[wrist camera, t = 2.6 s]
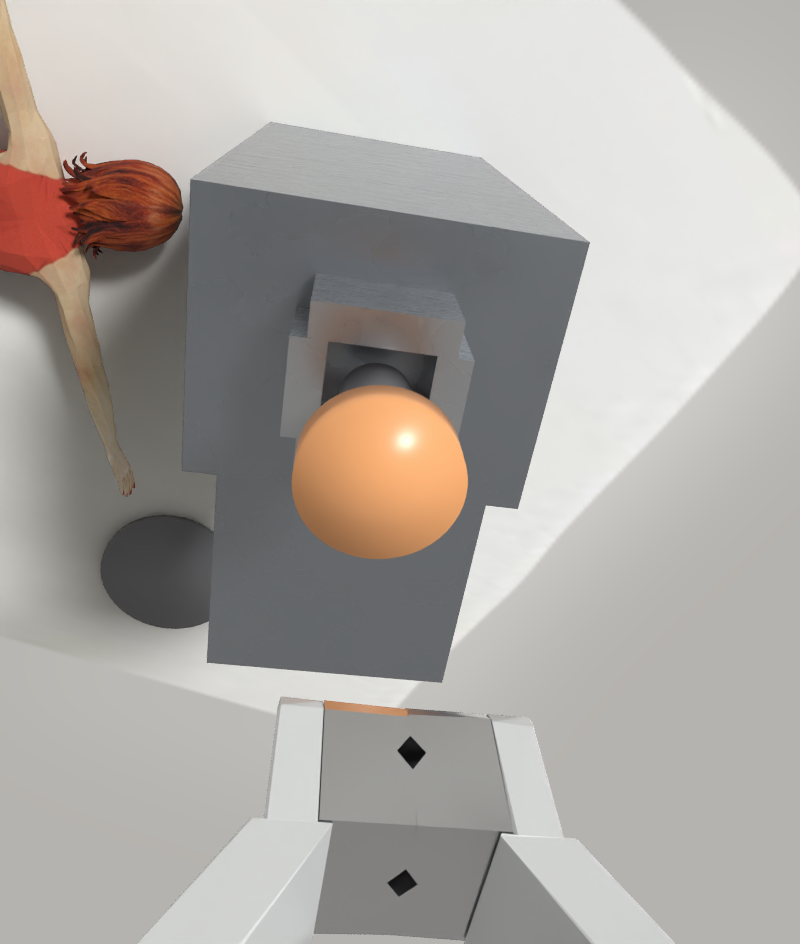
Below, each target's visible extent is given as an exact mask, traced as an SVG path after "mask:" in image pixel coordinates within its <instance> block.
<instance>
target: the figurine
mask: <svg viewBox="0 0 800 944" xmlns="http://www.w3.org/2000/svg"><path fill="white" fill-rule="evenodd" d="M0 109H1V112H2V115H3V118H4V121H5V123H6V126H7V129H8V132H9V136H8V148H7V151H5V150H1V151H0V269H1V270H4V271H8V272H15V273H21V274H25V275H30V276H34V277H39V278H40V279H41V280H42V281H43V282H45V283H46V284H47V285H48V286H49V287H50V288H51V289H52V290H53V291H54V294H55V298H56V302H57V306H58V310H59V314H60V319H61V323H62V327H63V330H64V334H65V337H66V341H67V344H68V347H69V350H70V353H71V356H72V359H73V362H74V365H75V367H76V370H77V373H78V376H79V379H80V383H81V386H82V388H83V391H84V394H85V397H86V400H87V403H88V406H89V410H90V413H91V416H92V418H93V420H94V423H95V425H96V427H97V430H98V432H99V434H100V437H101V439H102V441H103V444H104V446H105V450H106V453H107V458H108V460H109V463H110V465H111V467H112V469H113V472H114V474H115V476H116V478H117V479H118V482H119V485H120V492H121V495H125V497H127V496H128V494H129V495H131V492H132V488H135V482H134V478H133V472H132V470H131V467H130V465H129V463H128V461H127V459H126V458H125V456H124V454H123V452H122V450H121V449H120V447H119V444H118V442H117V439H116V433H115V425H114V417H113V408H112V402H111V397H110V392H109V385H108V382H107V378H106V375H105V371H104V368H103V364H102V358H101V352H100V346H99V342H98V338H97V335H96V331H95V326H94V321H93V317H92V313H91V309H90V305H89V293H90V278H91V276H90V269H89V266H88V264H87V261H86V258H85V255H84V251H83V247H82V245H86V244H89V243H90V245H88V247H87V248H86V251H85V252H87V250H88V248H89V247H92V248H95V249H94V251H93V256H94V257H95V259H97V258H96V254H97V255H99V254H98V252H97V251H99V252H101V253H103V252H102V251H101V250H100V249H99V248H100V247H105V248H110V249H113V250H116V251H129V252H136V251H144V250H147V249H150V248H152V247H154V246H157V245H160V244H163V243H164V242H165V241H167V240H168V239H170V238H171V237H172V235H173V234H174V233H175V232H176V230H177V229H178V227H179V224H180V222H181V220H182V210H183V204H182V199H181V191H180V189H179V187H178V185H177V183H176V181H175V180H174V178H173V177H172V176H171V175H170V174H169V173H167V172H166V171H165V170H163V169H162V168H161V167H158V166H156V165H154V164H151V163H149V162H145V161H140V160H121V161H109V162H104V163H99V164H88V163H87V156H86V157H85V159H83V158H84V156H85V154H86V153H87V152H84V153H83V154H82V155H81V156H80V162H81V163H82V164H83V165H84V166H85V167H86V169H82V168H81V167H79V166H78V165H77V164H75V161H76V158H77V156H76V157H75V158H74V159H73V160H72V164H73V165H74V166H75V167H76V168H75V167H74V170H73V169H72V168H71V167H69V166H68V164H67V161H66V159H65V161H64V162H63V165H64V168H65V170H66V171H67V172H68V173H69V174H70V175H71V176H72V177H74V178H69V179H65V178H64V174H63V170H62V166H61V162H60V158H59V154H58V149H57V145H56V142H55V140H54V138H53V136H52V134H51V132H50V130H49V129H48V127H47V125H46V124H45V122H44V120H43V119H42V117H41V115H40V114H39V112H38V110H37V107H36V104H35V100H34V96H33V93H32V89H31V86H30V83H29V80H28V77H27V73H26V69H25V66H24V62H23V58H22V54H21V52H20V49H19V46H18V43H17V40H16V38H15V35H14V32H13V29H12V26H11V22H10V18H9V14H8V10H7V6H6V2H5V0H0ZM80 171H81V172H80ZM65 180H66V181H68V182H66V181H65ZM82 239H83V240H82ZM81 240H82V242H81ZM92 243H93V244H92ZM101 243H102V244H101ZM97 246H98V247H97Z"/></svg>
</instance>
